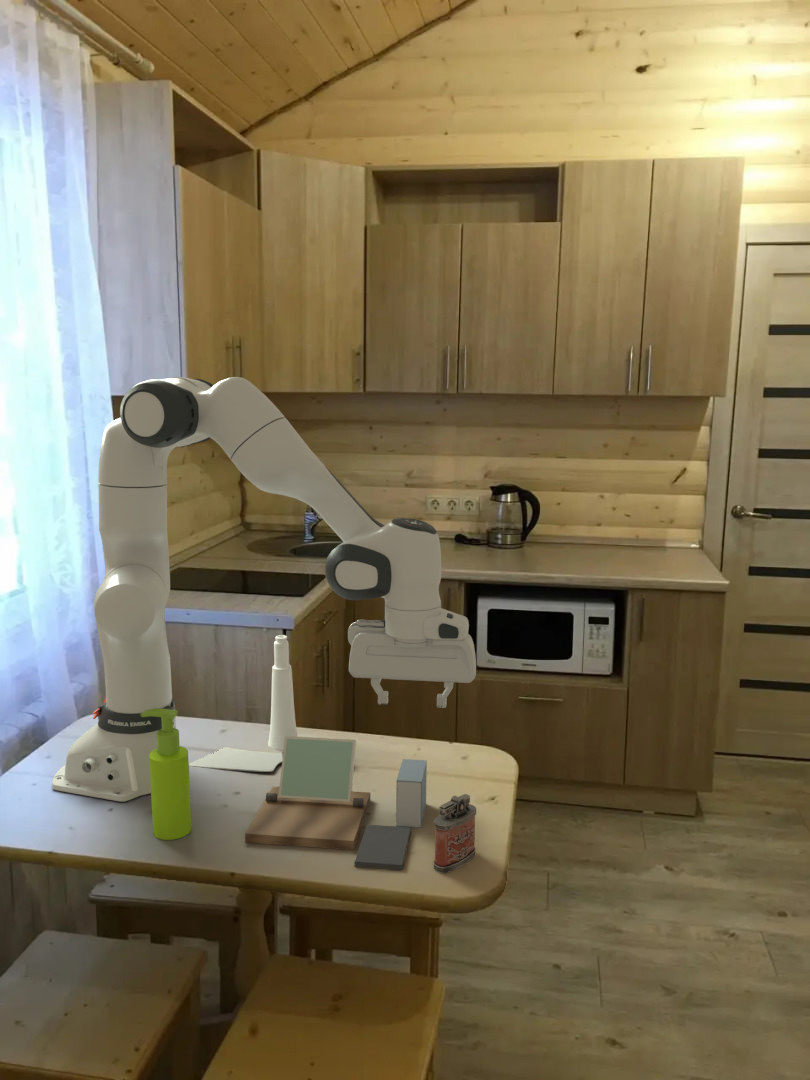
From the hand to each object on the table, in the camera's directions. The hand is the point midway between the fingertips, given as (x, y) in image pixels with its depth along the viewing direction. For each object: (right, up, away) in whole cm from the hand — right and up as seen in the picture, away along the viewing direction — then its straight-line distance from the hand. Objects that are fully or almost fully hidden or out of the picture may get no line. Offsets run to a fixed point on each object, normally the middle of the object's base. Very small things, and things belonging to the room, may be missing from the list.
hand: (412, 704), depth 143 cm
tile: (-16, -12, +6) cm, 21 cm away
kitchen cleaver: (-28, -15, +17) cm, 36 cm away
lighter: (+6, -22, -10) cm, 25 cm away
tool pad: (-4, -21, -7) cm, 22 cm away
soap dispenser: (-38, -20, -2) cm, 43 cm away
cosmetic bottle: (-25, -14, +31) cm, 42 cm away
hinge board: (-16, -19, +2) cm, 25 cm away
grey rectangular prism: (0, -19, +4) cm, 19 cm away
